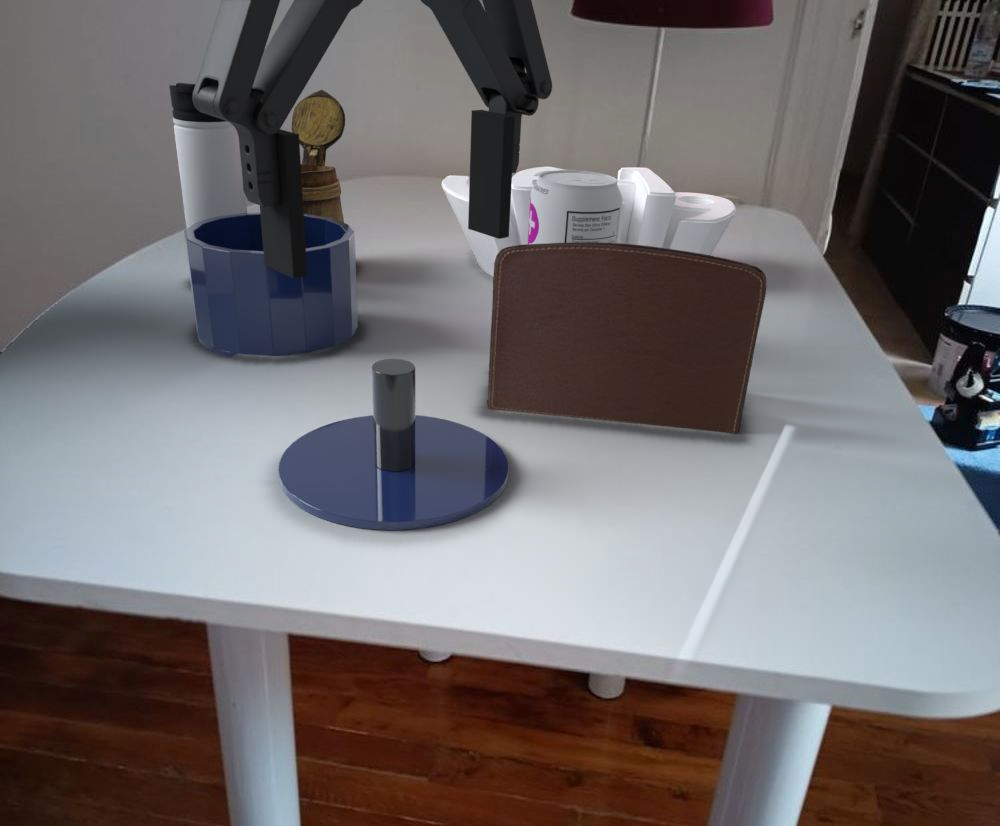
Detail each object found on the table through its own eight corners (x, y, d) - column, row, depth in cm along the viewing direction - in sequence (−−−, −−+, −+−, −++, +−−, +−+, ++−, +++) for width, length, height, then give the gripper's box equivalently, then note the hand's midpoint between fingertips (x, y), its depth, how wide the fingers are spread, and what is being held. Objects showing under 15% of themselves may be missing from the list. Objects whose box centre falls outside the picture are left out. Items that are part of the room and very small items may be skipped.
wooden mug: (366, 250, 112) (362, 91, 103) (345, 283, 101) (338, 106, 92) (294, 246, 112) (283, 87, 103) (265, 278, 101) (250, 101, 92)
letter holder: (738, 440, 71) (774, 259, 64) (485, 415, 73) (492, 236, 65) (728, 390, 79) (758, 225, 72) (502, 368, 81) (510, 206, 74)
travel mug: (180, 289, 96) (152, 81, 86) (212, 272, 102) (189, 75, 92) (235, 296, 95) (213, 86, 85) (263, 278, 101) (246, 80, 91)
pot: (163, 341, 83) (148, 236, 78) (264, 298, 95) (255, 205, 90) (296, 373, 78) (288, 263, 73) (385, 324, 90) (383, 226, 85)
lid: (230, 499, 60) (216, 382, 56) (360, 412, 72) (356, 311, 68) (441, 564, 54) (443, 440, 50) (542, 458, 67) (550, 352, 63)
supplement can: (512, 346, 86) (521, 181, 79) (535, 319, 93) (545, 165, 85) (596, 359, 84) (614, 191, 77) (613, 331, 91) (631, 174, 83)
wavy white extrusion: (431, 279, 103) (432, 182, 98) (444, 242, 117) (445, 155, 112) (741, 297, 103) (759, 201, 97) (716, 257, 117) (731, 171, 112)
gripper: (145, -339, 29) (218, 313, 39) (646, -213, 44) (600, 233, 55) (53, -305, 33) (141, 271, 44) (535, -201, 48) (513, 208, 59)
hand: (395, 251), depth 49 cm, fingers open, 13 cm apart
